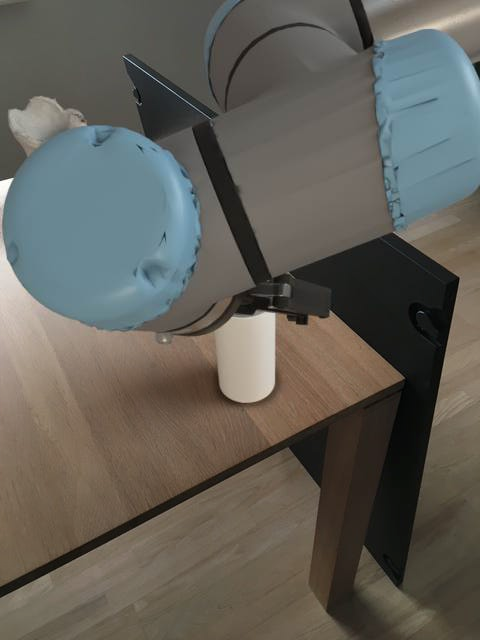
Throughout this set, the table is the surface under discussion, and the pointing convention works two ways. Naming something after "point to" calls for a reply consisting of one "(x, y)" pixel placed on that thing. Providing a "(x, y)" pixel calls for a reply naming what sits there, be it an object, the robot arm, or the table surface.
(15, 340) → the table surface
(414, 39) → the robot arm
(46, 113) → the ceramic pitcher
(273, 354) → the cup
